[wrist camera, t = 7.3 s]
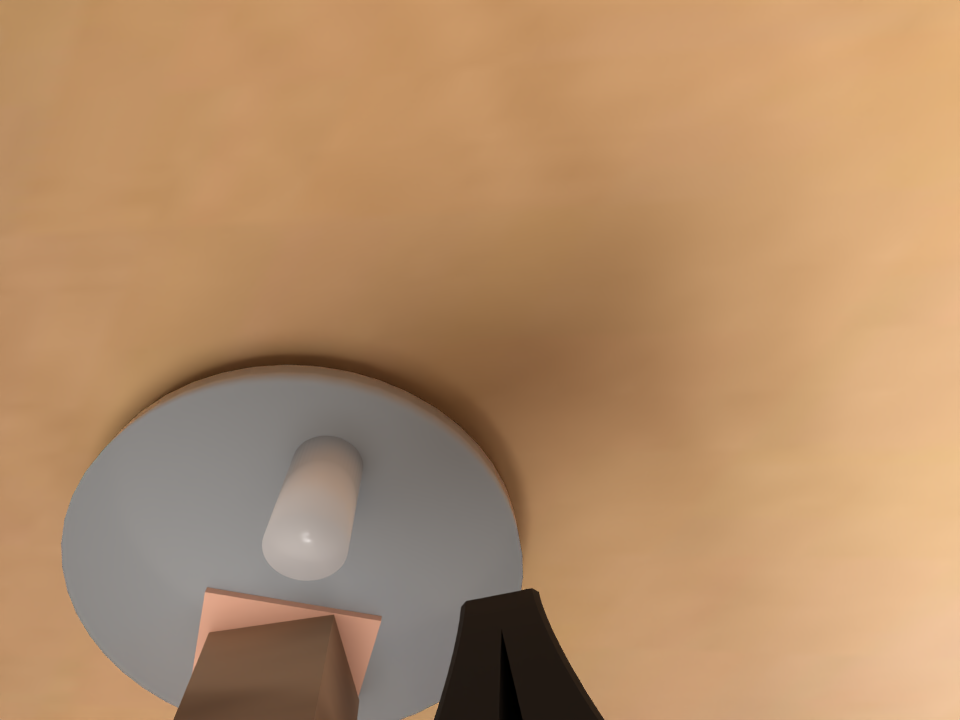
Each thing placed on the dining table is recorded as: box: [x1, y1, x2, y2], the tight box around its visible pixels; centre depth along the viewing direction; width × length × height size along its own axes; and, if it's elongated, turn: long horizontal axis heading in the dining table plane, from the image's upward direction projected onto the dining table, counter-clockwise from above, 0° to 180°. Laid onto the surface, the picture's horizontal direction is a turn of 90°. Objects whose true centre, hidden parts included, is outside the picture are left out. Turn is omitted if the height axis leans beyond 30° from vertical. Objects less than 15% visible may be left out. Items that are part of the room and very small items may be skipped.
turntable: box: [61, 365, 523, 720], centre depth 19 cm, size 14×14×5 cm
